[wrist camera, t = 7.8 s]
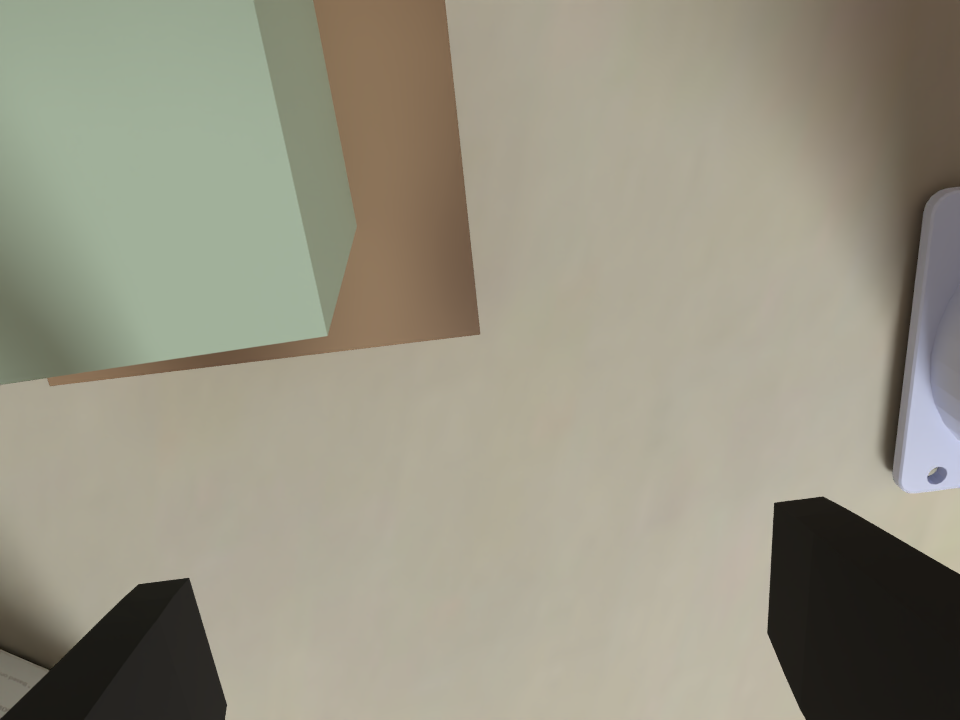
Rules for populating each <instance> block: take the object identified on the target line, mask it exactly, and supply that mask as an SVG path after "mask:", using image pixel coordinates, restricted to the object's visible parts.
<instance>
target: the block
mask: <svg viewBox="0 0 960 720" xmlns="http://www.w3.org/2000/svg"><path fill="white" fill-rule="evenodd" d="M356 228H357V224H356V219H355V214H354V209H353V203H352V198H351V193H350V188H349V183H348V178H347V173H346V167H345V162H344V157H343V152H342V147H341V142H340V136H339V131H338V126H337V121H336V116H335V111H334V106H333V100H332V95H331V90H330V85H329V80H328V75H327V70H326V64H325V59H324V54H323V49H322V44H321V39H320V33H319V28H318V23H317V18H316V13H315V8H314V3H313V0H0V385H3V384H10V383H16V382H23V381H30V380H36V379H43V378H50V377H57V376H63V375H70V374H77V373H83V372H90V371H97V370H103V369H110V368H117V367H124V366H130V365H137V364H144V363H150V362H157V361H164V360H170V359H177V358H184V357H191V356H197V355H204V354H211V353H217V352H224V351H231V350H237V349H244V348H251V347H258V346H264V345H271V344H278V343H284V342H291V341H298V340H304V339H311V338H318V337H325V336H328V332H329V329H330V325H331V321H332V318H333V314H334V310H335V306H336V303H337V299H338V295H339V291H340V288H341V284H342V280H343V276H344V273H345V269H346V265H347V261H348V258H349V254H350V250H351V246H352V243H353V239H354V235H355V231H356Z"/></svg>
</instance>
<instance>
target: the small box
mask: <svg viewBox="0 0 960 720" xmlns="http://www.w3.org/2000/svg"><path fill="white" fill-rule="evenodd" d="M49 671H50V670H48V669H45V668H43V667H41V666H38V665H36V664H34V663H31V662H29V661H27V660H24V659H22V658H19V657H17V656H15V655H12V654H10V653H8V652H5V651H3V650H1V649H0V718H1V717H3V716H4V715H5V714H6V713H7V712H8V711H9V710H10V709H11V708H12V707H13V706H14V705H15V704H16V703H17V702H18V701H19V700H20V699H21V698H22V697H23V696H24V695H25V694H26V693H27V692H28V691H29V690H30V689H31V688H32V687H33V686H34V685H35V684H36V683H38V682H39V681H40V680H41V679H42V678H43V677H44V676H45V675H46V674H47V673H48V672H49Z"/></svg>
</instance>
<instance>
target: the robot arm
mask: <svg viewBox="0 0 960 720" xmlns="http://www.w3.org/2000/svg"><path fill="white" fill-rule="evenodd" d="M936 467H938V468H937V470H936V472H935V473H934V474H932V475H930V476H928V474H929V472H930V471H931V470H932V469H933V468H936ZM892 475H893V480H894V482H895V483H896V484H897V485H898V486H899V487H900V488H901V489H902V490H903V491H905V492H907V493H922V492H930V491H937V490H945V489H953V488H960V187H952V188H946V189H943V190H940V191H938V192H937V193H935V194H934V195H932V196H931V198H930V199H929V200H928V202H927V203H926V206H925V209H924V212H923V220H922V229H921V237H920V245H919V254H918V262H917V271H916V279H915V287H914V296H913V304H912V313H911V321H910V329H909V338H908V346H907V355H906V363H905V371H904V380H903V388H902V397H901V405H900V413H899V422H898V430H897V439H896V447H895V455H894V464H893V472H892ZM767 633H768V636H769V638H770V640H771V643H772V645H773V648H774V650H775V652H776V655H777V657H778V660H779V662H780V665H781V667H782V669H783V672H784V674H785V676H786V679H787V681H788V683H789V685H790V688H791V690H792V692H793V694H794V697H795V699H796V701H797V703H798V706H799V708H800V710H801V712H802V713H803V715H804V717H805V719H806V720H960V574H958V573H957V572H955V571H953V570H951V569H950V568H948V567H946V566H944V565H943V564H941V563H939V562H937V561H936V560H934V559H932V558H930V557H929V556H927V555H925V554H923V553H922V552H920V551H918V550H917V549H915V548H913V547H911V546H910V545H908V544H906V543H905V542H903V541H901V540H899V539H898V538H896V537H894V536H893V535H891V534H889V533H887V532H886V531H884V530H882V529H881V528H879V527H877V526H875V525H874V524H872V523H870V522H868V521H867V520H865V519H863V518H862V517H860V516H858V515H856V514H855V513H853V512H851V511H849V510H847V509H846V508H844V507H842V506H840V505H838V504H836V503H834V502H832V501H830V500H829V499H827V498H825V497H816V498H808V499H801V500H793V501H785V502H777V503H774V518H773V537H772V556H771V575H770V593H769V612H768V631H767ZM226 707H227V704H226V700H225V697H224V694H223V690H222V687H221V684H220V680H219V677H218V673H217V670H216V667H215V663H214V660H213V657H212V653H211V650H210V647H209V643H208V640H207V636H206V633H205V630H204V626H203V623H202V620H201V616H200V613H199V610H198V606H197V603H196V599H195V596H194V593H193V589H192V586H191V583H190V579H189V578H184V579H176V580H169V581H161V582H153V583H145V584H138V585H137V586H136V587H135V588H134V589H133V590H132V591H131V592H130V593H128V594H127V595H126V596H125V597H124V598H123V599H122V600H121V601H120V602H119V603H118V604H117V605H116V606H115V607H114V608H113V609H112V610H111V611H109V612H108V613H107V614H106V615H105V616H104V617H103V618H102V619H101V620H100V621H99V622H98V623H97V624H96V625H95V626H94V627H93V628H92V629H91V630H90V631H89V632H88V633H87V634H86V635H85V636H84V637H83V638H82V639H81V640H80V641H79V642H78V643H77V644H76V645H75V646H74V647H73V648H72V649H71V650H70V651H69V652H68V653H67V654H66V655H65V656H64V657H63V658H62V659H61V660H60V661H59V662H58V663H57V664H56V665H55V666H54V667H53V668H52V669H51V670H50V671H49V672H48V673H47V674H46V675H45V676H44V677H43V678H42V679H41V680H40V681H39V682H38V683H36V684H35V685H34V686H33V687H32V688H31V689H30V690H29V691H28V692H27V693H26V694H25V695H24V696H23V697H22V698H21V699H20V700H19V701H18V702H17V703H16V704H15V705H14V706H13V707H12V708H11V709H10V710H9V711H8V712H7V713H6V714H5V715H4V716H3V717H1V718H0V720H225V715H226Z"/></svg>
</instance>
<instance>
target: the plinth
mask: <svg viewBox="0 0 960 720" xmlns="http://www.w3.org/2000/svg"><path fill="white" fill-rule="evenodd" d="M313 3H314V8H315V13H316V18H317V23H318V28H319V33H320V39H321V44H322V49H323V54H324V59H325V64H326V70H327V75H328V80H329V85H330V90H331V95H332V100H333V106H334V111H335V116H336V121H337V126H338V131H339V136H340V142H341V147H342V152H343V157H344V162H345V167H346V173H347V178H348V183H349V188H350V193H351V198H352V203H353V209H354V214H355V219H356V224H357V228H356V231H355V235H354V239H353V243H352V246H351V250H350V254H349V258H348V261H347V265H346V269H345V273H344V276H343V280H342V284H341V288H340V291H339V295H338V299H337V303H336V306H335V310H334V314H333V318H332V321H331V325H330V329H329V332H328V336H325V337H318V338H311V339H304V340H298V341H291V342H284V343H278V344H271V345H264V346H258V347H251V348H244V349H237V350H231V351H224V352H217V353H211V354H204V355H197V356H191V357H184V358H177V359H170V360H164V361H157V362H150V363H144V364H137V365H130V366H124V367H117V368H110V369H103V370H97V371H90V372H83V373H77V374H70V375H63V376H57V377H50V378H47V379H48V382H49V385H50V386H55V385H63V384H71V383H80V382H88V381H96V380H105V379H113V378H121V377H130V376H138V375H146V374H155V373H163V372H171V371H180V370H188V369H196V368H205V367H213V366H221V365H230V364H238V363H246V362H254V361H263V360H271V359H279V358H288V357H296V356H304V355H313V354H321V353H329V352H338V351H346V350H354V349H363V348H371V347H379V346H388V345H396V344H404V343H412V342H421V341H429V340H437V339H446V338H454V337H462V336H471V335H479V334H480V327H479V318H478V308H477V299H476V289H475V280H474V270H473V261H472V252H471V242H470V233H469V223H468V214H467V204H466V195H465V186H464V176H463V167H462V157H461V148H460V138H459V129H458V120H457V110H456V101H455V91H454V82H453V73H452V63H451V54H450V44H449V35H448V25H447V16H446V7H445V0H313Z"/></svg>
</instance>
